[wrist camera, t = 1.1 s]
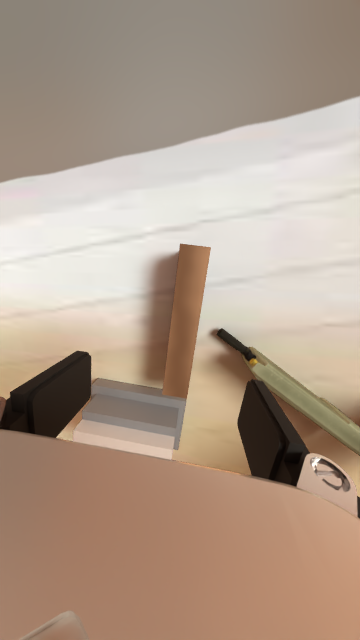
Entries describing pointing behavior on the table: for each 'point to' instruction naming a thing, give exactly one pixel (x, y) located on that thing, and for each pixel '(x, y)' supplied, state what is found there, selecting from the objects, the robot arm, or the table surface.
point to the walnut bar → (185, 318)
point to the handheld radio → (298, 395)
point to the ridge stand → (131, 419)
